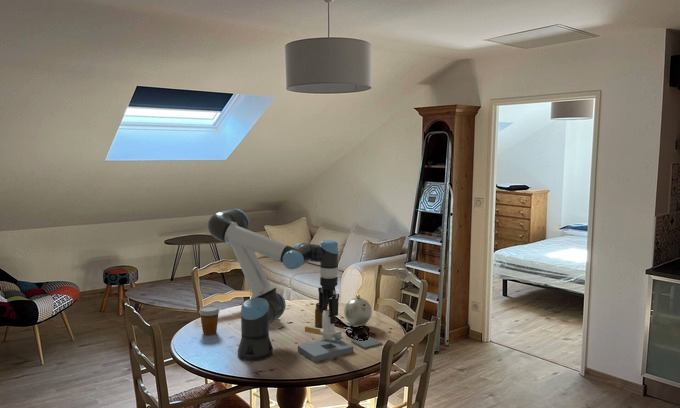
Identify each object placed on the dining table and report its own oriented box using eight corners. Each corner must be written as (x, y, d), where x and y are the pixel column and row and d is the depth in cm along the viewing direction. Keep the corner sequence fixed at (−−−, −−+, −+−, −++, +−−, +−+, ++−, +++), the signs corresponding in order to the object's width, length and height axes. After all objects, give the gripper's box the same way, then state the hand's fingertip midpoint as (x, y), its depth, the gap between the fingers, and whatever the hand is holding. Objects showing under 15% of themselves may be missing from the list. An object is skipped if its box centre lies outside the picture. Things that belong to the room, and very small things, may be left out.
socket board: (314, 361, 231) (314, 353, 231) (297, 351, 243) (297, 342, 242) (353, 351, 242) (353, 343, 242) (335, 342, 254) (335, 333, 253)
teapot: (377, 329, 271) (377, 296, 269) (352, 333, 265) (352, 300, 263) (360, 318, 287) (360, 287, 285) (336, 322, 281) (336, 290, 279)
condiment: (322, 323, 278) (322, 300, 277) (333, 328, 272) (333, 304, 270) (310, 327, 274) (310, 303, 272) (321, 331, 267) (321, 307, 266)
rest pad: (364, 349, 245) (364, 347, 245) (351, 342, 254) (351, 340, 254) (382, 344, 251) (382, 342, 251) (368, 337, 259) (368, 336, 259)
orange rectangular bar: (303, 332, 255) (303, 326, 254) (307, 330, 257) (307, 324, 257) (339, 339, 246) (339, 333, 246) (342, 337, 249) (342, 331, 248)
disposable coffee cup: (201, 337, 258) (200, 312, 257) (197, 331, 267) (197, 306, 266) (221, 334, 262) (221, 310, 261) (217, 328, 271) (217, 304, 270)
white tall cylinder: (325, 341, 237) (325, 314, 235) (317, 336, 242) (317, 309, 241) (338, 338, 240) (338, 311, 239) (330, 333, 246) (330, 307, 244)
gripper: (347, 279, 233) (346, 333, 236) (325, 271, 247) (324, 321, 250) (332, 282, 229) (331, 336, 232) (311, 273, 243) (310, 324, 246)
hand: (328, 328), depth 241 cm, fingers closed on white tall cylinder, 4 cm apart
